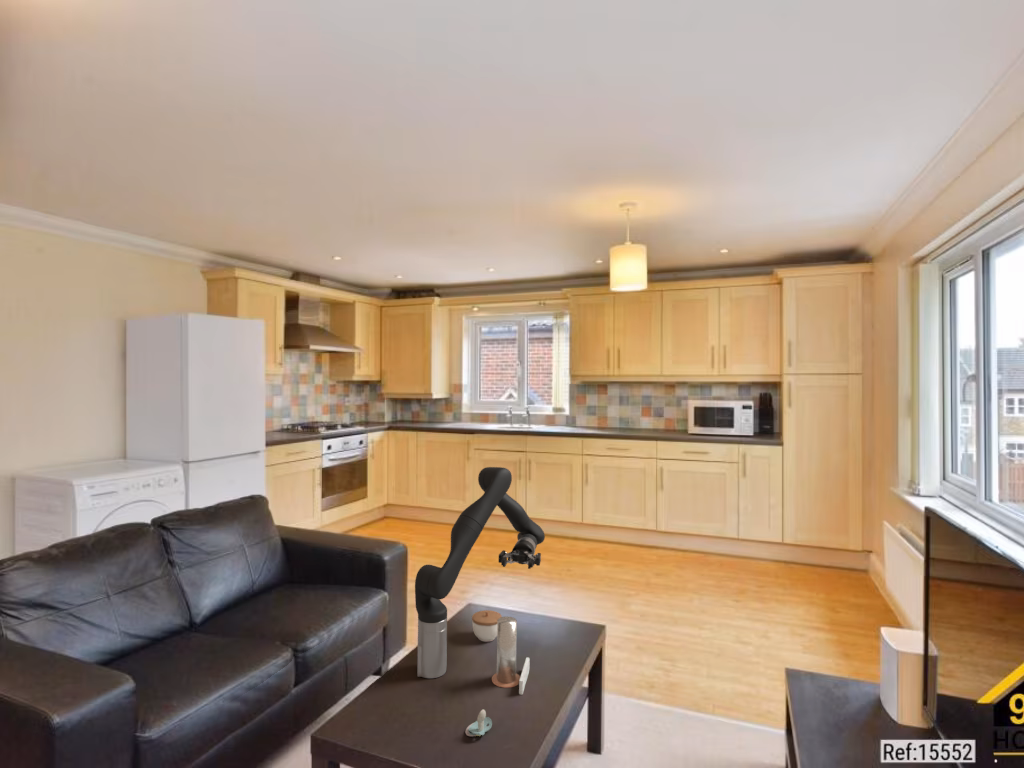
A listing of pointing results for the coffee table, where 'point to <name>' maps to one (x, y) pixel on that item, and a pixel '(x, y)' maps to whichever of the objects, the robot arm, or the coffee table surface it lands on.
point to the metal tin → (506, 649)
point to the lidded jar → (485, 624)
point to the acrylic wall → (524, 676)
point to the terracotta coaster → (497, 683)
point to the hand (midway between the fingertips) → (516, 564)
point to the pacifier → (479, 725)
